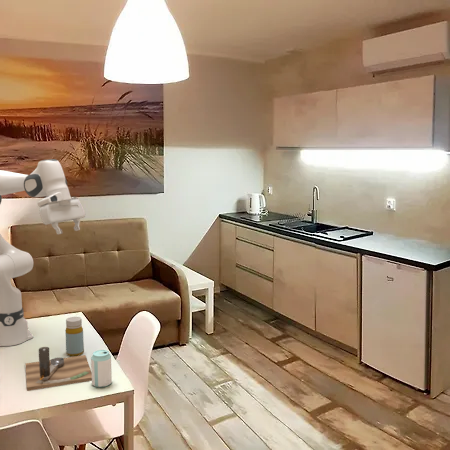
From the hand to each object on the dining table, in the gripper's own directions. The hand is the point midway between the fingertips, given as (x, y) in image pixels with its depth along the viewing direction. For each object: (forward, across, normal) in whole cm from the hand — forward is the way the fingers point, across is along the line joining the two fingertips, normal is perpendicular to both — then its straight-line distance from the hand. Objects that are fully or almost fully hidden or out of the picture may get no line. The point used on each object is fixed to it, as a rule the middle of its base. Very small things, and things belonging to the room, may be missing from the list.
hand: (68, 232), depth 205 cm
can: (+58, +13, +8) cm, 60 cm away
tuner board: (+51, +14, -11) cm, 54 cm away
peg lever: (+50, +18, -11) cm, 54 cm away
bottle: (+49, -3, -19) cm, 52 cm away
